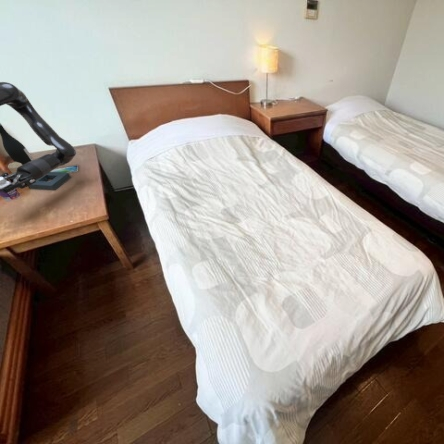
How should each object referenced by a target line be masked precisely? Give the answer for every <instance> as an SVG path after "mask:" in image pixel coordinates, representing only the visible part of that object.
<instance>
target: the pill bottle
mask: <svg viewBox="0 0 444 444" xmlns="http://www.w3.org/2000/svg"><path fill="white" fill-rule="evenodd" d="M10 182H11V181H10V180H8V181H6V180H5V179H4V178H3V177H0V197H1V198H2V199H3V201H5V202H13V201H17V200H19V199H21V193H20V192H19V190H17V189H13V190H12V191H10V192H8V193H4V192H3V191H2V190H1V189H2V188H4V187H6V186H7V185H9V184H11V183H10ZM11 185H12V184H11Z"/></svg>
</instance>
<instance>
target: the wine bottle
mask: <svg viewBox="0 0 444 444" xmlns="http://www.w3.org/2000/svg"><path fill="white" fill-rule="evenodd" d="M0 137H1V142H2V146H3V149H4V150H5V152H6V154H7V155H8V156H9V157H10V158H11V160H12V161H13V162H18V163H21V164H22V165H24V164H26V163H28V162H30V161H32V160H35V158H34V157H33V156H32V155H31V153H30V152H29V151H28V149H27V148H26V146H25V145H24V144H22V142H20V141H19V140H18V139H16V138H15V137H14V136H12V135H11V134H10V133H8V131H7V130H6V129H5V127H4V125H2V123H1V122H0Z"/></svg>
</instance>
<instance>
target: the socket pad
mask: <svg viewBox="0 0 444 444" xmlns="http://www.w3.org/2000/svg"><path fill="white" fill-rule="evenodd" d="M71 178H72V177H71V174H69V173H63V172H49V173H48V174H46V175H45V176H43V177H41V178H39V179H38V180H36V183H34V184H31V185H29V186H27V188H28V189H30V190H43V191H46V190H47V191H56V190H58V188H60V187H61V186H62V185H64V184H65V183H67V181H68V180H70V179H71Z"/></svg>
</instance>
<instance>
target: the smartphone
mask: <svg viewBox="0 0 444 444" xmlns="http://www.w3.org/2000/svg"><path fill="white" fill-rule="evenodd" d="M78 171H79V165H77V164H76V165H71V166H65V167H60V168H59V167H58V168H56V169H54V170H52V171H50V172H63V173H76V172H78Z"/></svg>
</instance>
